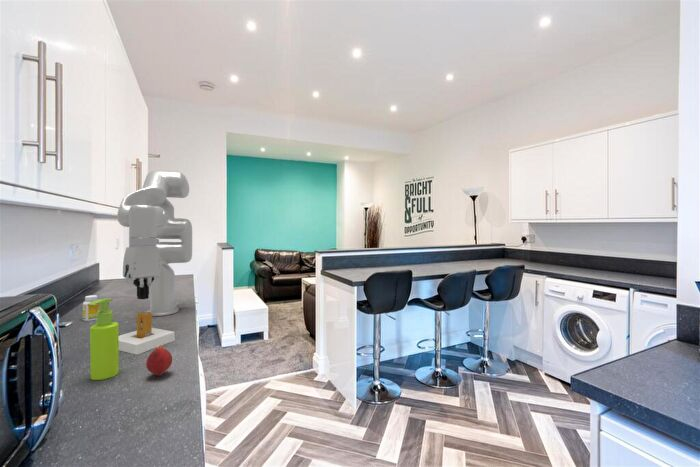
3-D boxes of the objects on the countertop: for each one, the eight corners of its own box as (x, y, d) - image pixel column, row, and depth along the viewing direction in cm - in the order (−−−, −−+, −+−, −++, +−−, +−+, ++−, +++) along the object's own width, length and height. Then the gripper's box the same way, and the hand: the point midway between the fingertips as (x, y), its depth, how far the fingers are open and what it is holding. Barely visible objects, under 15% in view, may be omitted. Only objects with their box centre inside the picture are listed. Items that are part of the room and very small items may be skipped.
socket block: (148, 335, 114) (148, 326, 114) (174, 340, 109) (174, 331, 109) (109, 348, 102) (109, 338, 102) (136, 354, 97) (136, 344, 97)
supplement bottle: (79, 321, 129) (79, 297, 129) (88, 317, 134) (88, 294, 134) (94, 321, 130) (94, 297, 130) (102, 317, 135) (102, 294, 135)
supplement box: (152, 341, 108) (152, 311, 107) (145, 344, 104) (145, 314, 104) (143, 340, 108) (143, 311, 108) (135, 344, 104) (135, 313, 104)
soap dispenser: (80, 381, 80) (79, 302, 80) (105, 369, 87) (104, 296, 87) (101, 383, 79) (100, 303, 79) (124, 370, 86) (124, 297, 86)
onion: (160, 381, 80) (160, 350, 80) (140, 379, 82) (140, 348, 81) (177, 371, 86) (177, 342, 86) (158, 369, 87) (158, 340, 87)
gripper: (156, 241, 113) (156, 293, 113) (111, 243, 99) (111, 302, 99) (171, 242, 110) (171, 295, 110) (127, 244, 96) (127, 304, 97)
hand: (142, 298), depth 105 cm, fingers closed
